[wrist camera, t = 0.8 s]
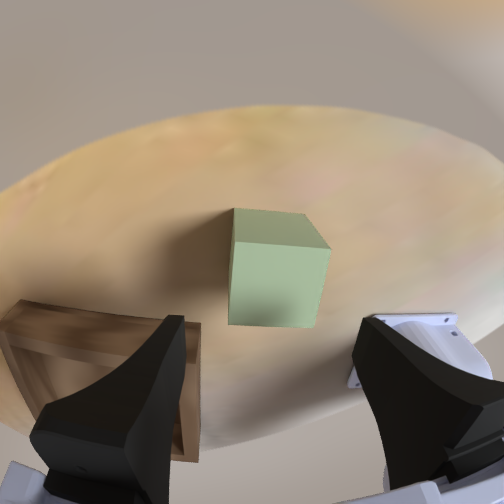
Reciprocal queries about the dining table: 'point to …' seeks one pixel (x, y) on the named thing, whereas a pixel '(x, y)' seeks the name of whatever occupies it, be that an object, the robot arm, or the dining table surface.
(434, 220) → the dining table surface
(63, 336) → the walnut crate
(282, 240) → the green block
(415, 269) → the dining table surface
